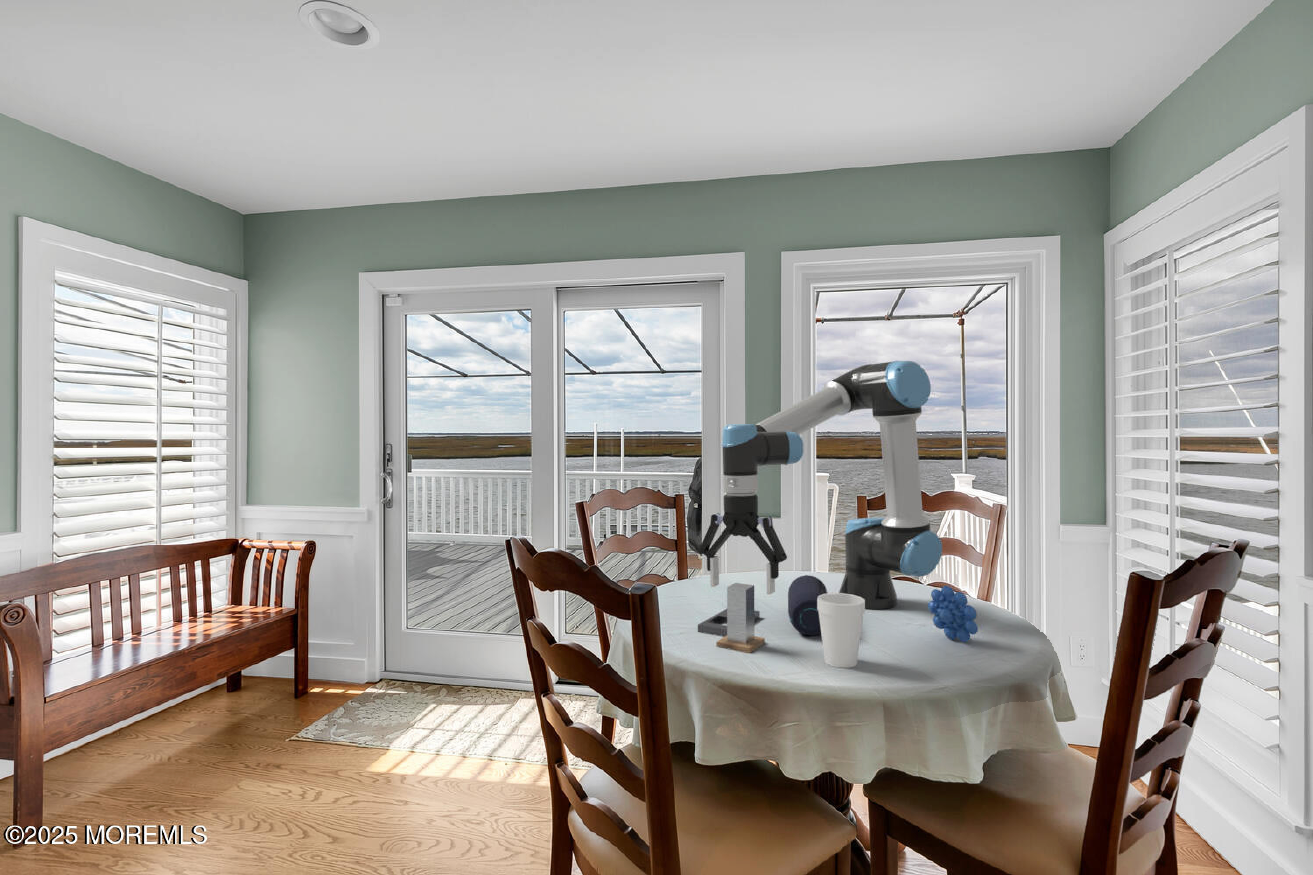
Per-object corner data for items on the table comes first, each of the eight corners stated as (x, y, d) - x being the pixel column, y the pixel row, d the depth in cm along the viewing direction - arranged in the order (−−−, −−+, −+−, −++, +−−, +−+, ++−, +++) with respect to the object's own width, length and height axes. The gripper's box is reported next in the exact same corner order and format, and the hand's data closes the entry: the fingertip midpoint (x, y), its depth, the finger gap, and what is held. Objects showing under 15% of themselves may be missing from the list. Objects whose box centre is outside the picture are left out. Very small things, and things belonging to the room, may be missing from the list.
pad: (764, 642, 146) (764, 637, 146) (749, 652, 139) (749, 648, 139) (732, 636, 150) (732, 631, 150) (716, 646, 143) (716, 641, 143)
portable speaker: (833, 641, 147) (833, 597, 147) (788, 638, 149) (788, 595, 149) (826, 610, 171) (826, 572, 171) (788, 608, 173) (788, 571, 173)
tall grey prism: (754, 638, 145) (754, 585, 145) (746, 644, 142) (745, 589, 141) (735, 635, 148) (735, 582, 148) (727, 640, 144) (727, 586, 144)
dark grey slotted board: (759, 617, 165) (759, 610, 165) (728, 637, 150) (728, 629, 150) (730, 612, 169) (730, 606, 169) (697, 631, 154) (697, 624, 154)
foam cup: (811, 654, 138) (811, 593, 138) (853, 653, 139) (853, 592, 139) (826, 671, 129) (826, 605, 128) (872, 669, 129) (872, 604, 129)
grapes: (917, 636, 149) (917, 584, 149) (934, 631, 153) (934, 580, 153) (966, 650, 140) (967, 595, 140) (983, 644, 144) (983, 590, 144)
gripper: (683, 493, 148) (685, 586, 148) (788, 498, 134) (789, 600, 135) (698, 489, 154) (700, 579, 154) (800, 494, 141) (802, 592, 141)
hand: (742, 589), depth 145 cm, fingers open, 13 cm apart
